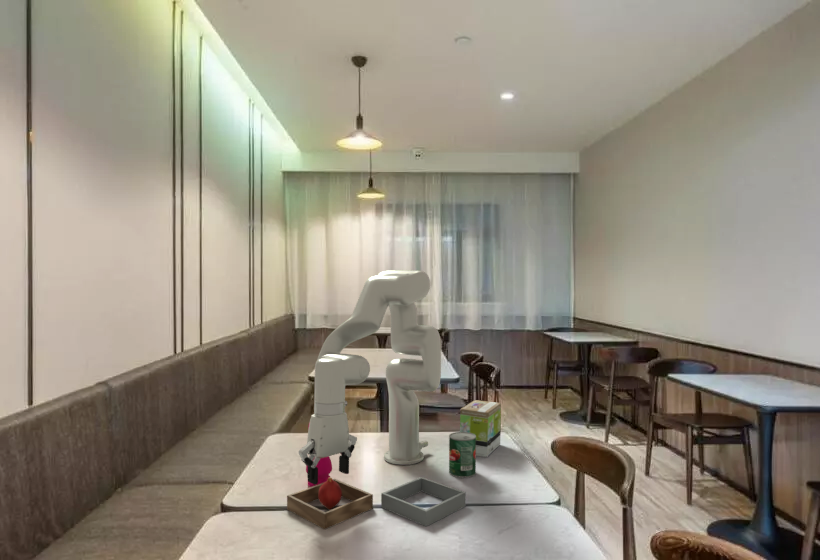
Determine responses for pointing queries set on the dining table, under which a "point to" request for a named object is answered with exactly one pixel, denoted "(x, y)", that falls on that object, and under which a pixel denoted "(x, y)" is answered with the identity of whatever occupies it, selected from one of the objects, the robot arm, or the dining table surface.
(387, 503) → the grey bin
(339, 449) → the robot arm
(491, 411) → the tea box
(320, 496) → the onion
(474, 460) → the canned tomato
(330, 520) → the walnut bin
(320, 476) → the pepper mill
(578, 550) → the dining table surface
